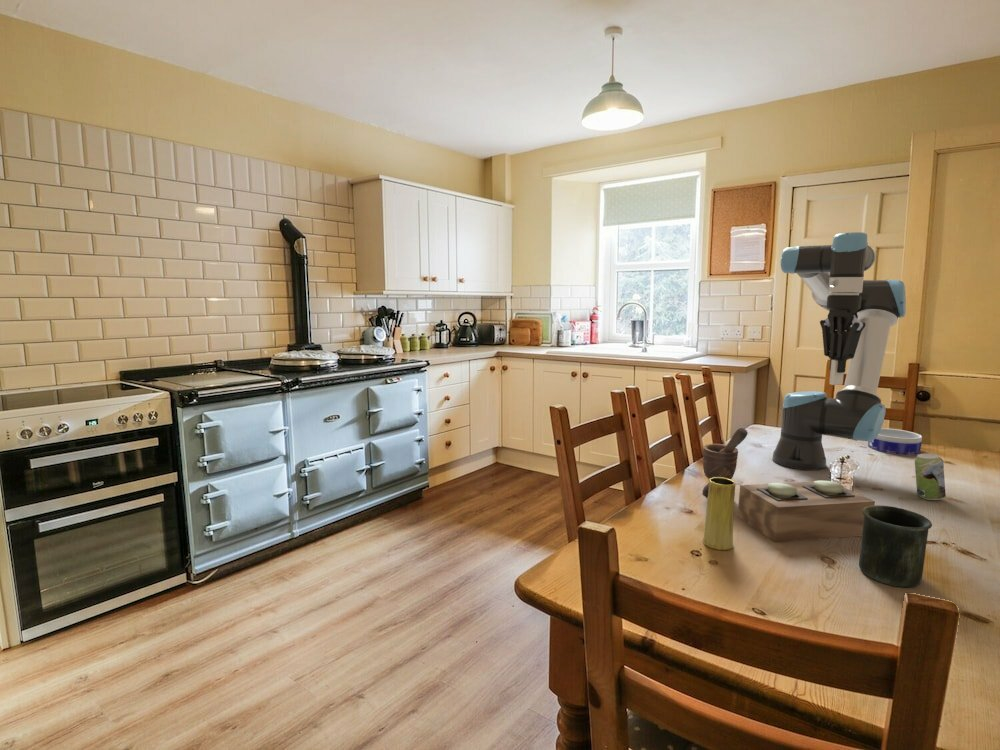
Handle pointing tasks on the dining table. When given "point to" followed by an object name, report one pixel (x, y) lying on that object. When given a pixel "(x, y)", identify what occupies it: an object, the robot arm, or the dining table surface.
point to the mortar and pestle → (722, 458)
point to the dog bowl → (897, 442)
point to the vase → (719, 514)
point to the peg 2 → (828, 487)
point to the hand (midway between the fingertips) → (835, 384)
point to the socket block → (802, 512)
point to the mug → (893, 545)
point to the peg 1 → (782, 490)
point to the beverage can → (930, 476)
